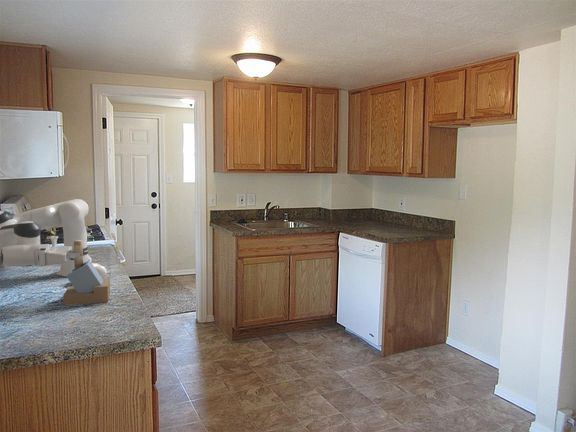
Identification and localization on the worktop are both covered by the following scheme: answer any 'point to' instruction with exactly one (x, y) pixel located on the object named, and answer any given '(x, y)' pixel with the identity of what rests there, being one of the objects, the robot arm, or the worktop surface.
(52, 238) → the flower in vase
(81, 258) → the peg
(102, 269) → the lightbulb
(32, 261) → the robot arm
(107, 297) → the socket
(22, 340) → the worktop surface
